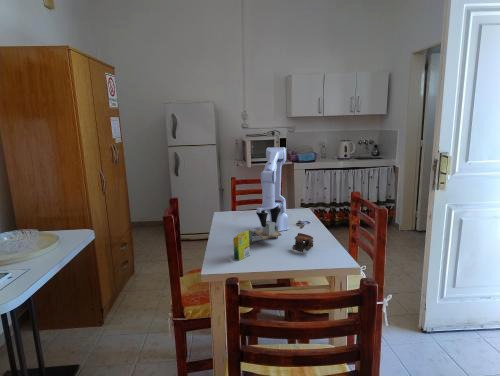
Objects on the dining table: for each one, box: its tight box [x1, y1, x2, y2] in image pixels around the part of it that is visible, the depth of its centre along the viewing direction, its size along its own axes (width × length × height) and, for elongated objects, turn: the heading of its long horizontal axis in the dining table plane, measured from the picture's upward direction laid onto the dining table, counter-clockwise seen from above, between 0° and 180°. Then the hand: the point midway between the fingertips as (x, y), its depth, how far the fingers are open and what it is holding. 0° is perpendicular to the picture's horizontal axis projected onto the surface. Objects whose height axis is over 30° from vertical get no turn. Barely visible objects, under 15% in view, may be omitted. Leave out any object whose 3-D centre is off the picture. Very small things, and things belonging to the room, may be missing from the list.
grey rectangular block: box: [263, 220, 275, 236], centre depth 156 cm, size 4×4×6 cm
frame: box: [249, 225, 279, 246], centre depth 163 cm, size 16×6×7 cm, turn 118°
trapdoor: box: [247, 226, 282, 240], centre depth 160 cm, size 12×14×3 cm
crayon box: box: [232, 229, 250, 261], centre depth 142 cm, size 7×3×12 cm, turn 140°
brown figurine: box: [292, 232, 314, 253], centre depth 149 cm, size 12×9×8 cm
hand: (268, 224), depth 156 cm, fingers open, 7 cm apart
